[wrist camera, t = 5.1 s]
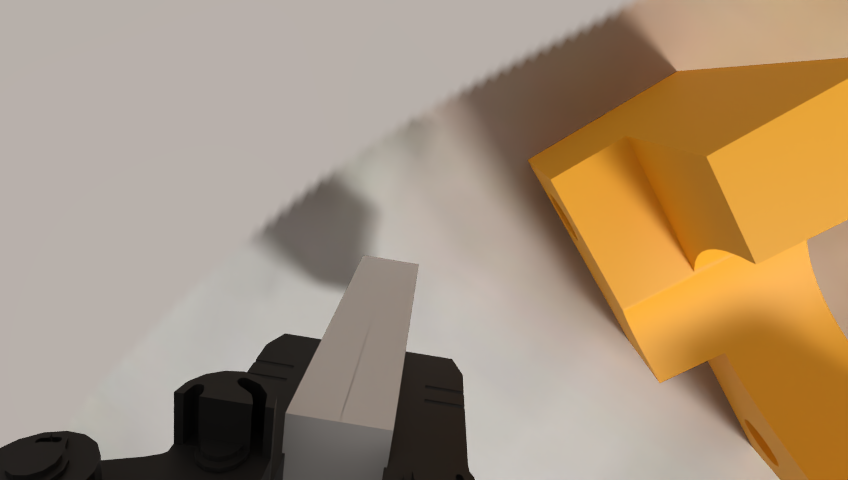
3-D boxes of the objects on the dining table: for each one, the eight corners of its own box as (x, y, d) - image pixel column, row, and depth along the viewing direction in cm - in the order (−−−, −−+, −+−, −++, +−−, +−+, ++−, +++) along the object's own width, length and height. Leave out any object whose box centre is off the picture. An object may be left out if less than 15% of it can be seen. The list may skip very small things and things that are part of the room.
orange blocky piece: (526, 158, 13) (594, 217, 7) (674, 71, 13) (892, 54, 6) (697, 464, 16) (852, 694, 10) (828, 409, 15) (1084, 623, 9)
